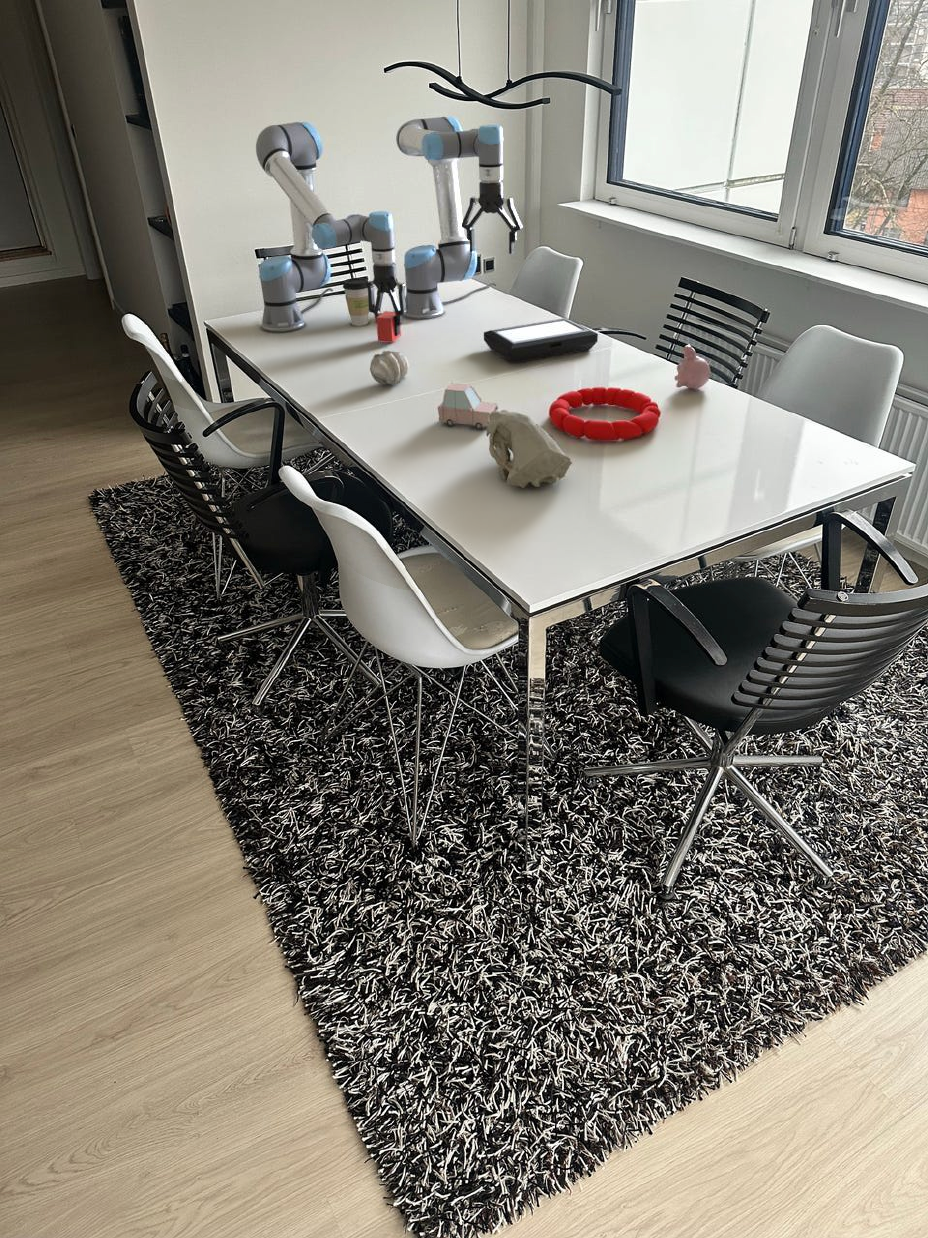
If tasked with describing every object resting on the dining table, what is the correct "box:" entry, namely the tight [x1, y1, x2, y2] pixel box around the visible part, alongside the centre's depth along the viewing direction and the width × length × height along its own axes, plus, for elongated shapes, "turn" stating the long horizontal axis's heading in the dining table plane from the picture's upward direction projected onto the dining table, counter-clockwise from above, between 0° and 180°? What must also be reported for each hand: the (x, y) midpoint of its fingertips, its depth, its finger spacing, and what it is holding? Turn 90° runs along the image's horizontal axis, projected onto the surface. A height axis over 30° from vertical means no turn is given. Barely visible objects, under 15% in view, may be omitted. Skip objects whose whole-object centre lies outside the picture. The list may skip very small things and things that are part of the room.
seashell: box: [369, 350, 409, 385], centre depth 270 cm, size 10×15×10 cm
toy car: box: [437, 382, 499, 431], centre depth 243 cm, size 9×15×10 cm, turn 70°
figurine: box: [674, 344, 711, 390], centre depth 259 cm, size 9×11×12 cm
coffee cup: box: [342, 277, 370, 327], centre depth 323 cm, size 10×10×15 cm
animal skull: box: [485, 409, 573, 489], centre depth 216 cm, size 17×25×20 cm
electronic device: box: [483, 317, 599, 364], centre depth 294 cm, size 32×6×20 cm
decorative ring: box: [548, 386, 661, 442], centre depth 242 cm, size 7×30×30 cm
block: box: [376, 310, 402, 343], centre depth 305 cm, size 6×8×8 cm
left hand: (389, 333), depth 306 cm, fingers closed on block, 5 cm apart
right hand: (491, 251), depth 294 cm, fingers open, 13 cm apart
